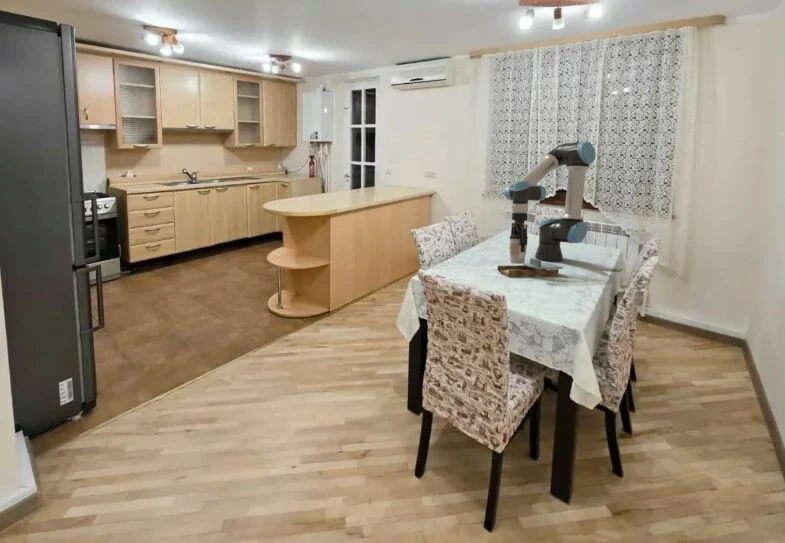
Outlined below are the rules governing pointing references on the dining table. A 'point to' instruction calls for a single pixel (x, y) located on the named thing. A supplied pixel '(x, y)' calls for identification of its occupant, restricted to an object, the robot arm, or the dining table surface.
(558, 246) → the robot arm
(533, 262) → the lid
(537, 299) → the dining table surface
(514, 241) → the coffee cup
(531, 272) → the wooden tray
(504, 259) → the dining table surface
